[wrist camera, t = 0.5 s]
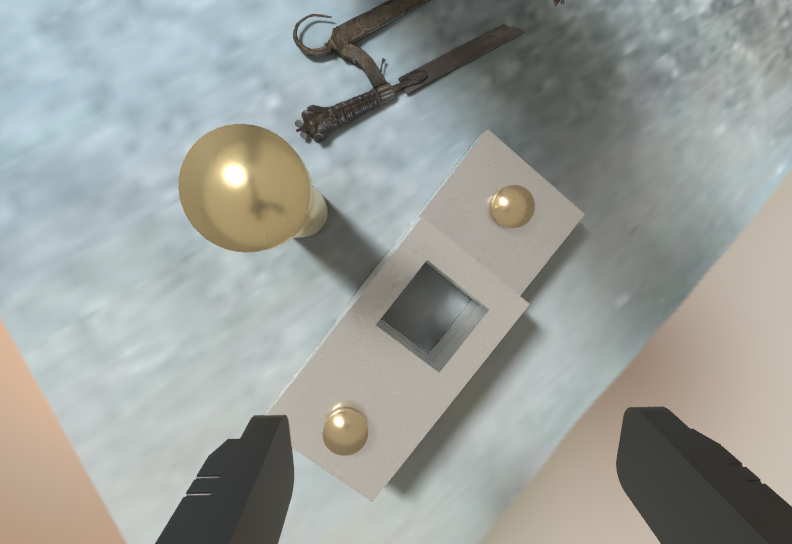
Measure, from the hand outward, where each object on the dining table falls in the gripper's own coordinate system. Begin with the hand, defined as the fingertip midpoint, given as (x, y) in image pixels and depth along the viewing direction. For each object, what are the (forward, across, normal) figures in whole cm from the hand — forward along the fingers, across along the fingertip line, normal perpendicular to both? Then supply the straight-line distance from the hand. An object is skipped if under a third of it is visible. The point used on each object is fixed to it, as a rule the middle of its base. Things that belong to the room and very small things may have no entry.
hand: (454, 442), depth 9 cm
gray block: (+19, -1, +4) cm, 20 cm away
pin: (+20, +8, -3) cm, 22 cm away
